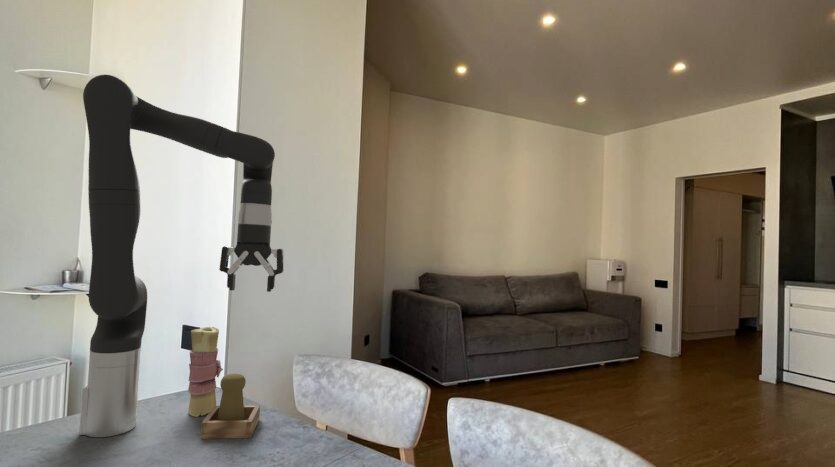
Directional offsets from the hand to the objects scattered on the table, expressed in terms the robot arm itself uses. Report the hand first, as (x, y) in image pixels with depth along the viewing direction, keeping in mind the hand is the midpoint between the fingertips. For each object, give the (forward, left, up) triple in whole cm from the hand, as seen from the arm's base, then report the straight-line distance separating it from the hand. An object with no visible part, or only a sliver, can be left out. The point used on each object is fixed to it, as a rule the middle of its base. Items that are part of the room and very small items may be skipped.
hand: (250, 290), depth 107 cm
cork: (-1, -7, -29) cm, 30 cm away
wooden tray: (-1, -7, -30) cm, 31 cm away
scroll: (-10, +4, -30) cm, 32 cm away
